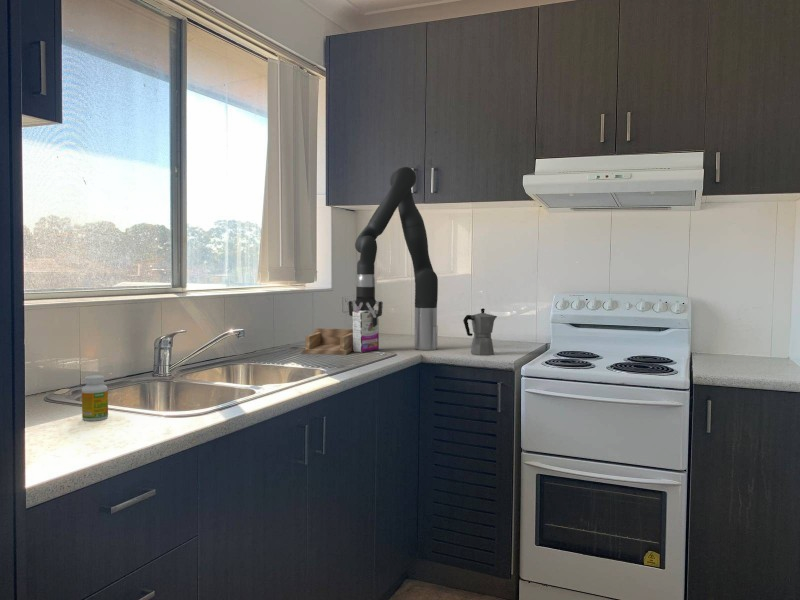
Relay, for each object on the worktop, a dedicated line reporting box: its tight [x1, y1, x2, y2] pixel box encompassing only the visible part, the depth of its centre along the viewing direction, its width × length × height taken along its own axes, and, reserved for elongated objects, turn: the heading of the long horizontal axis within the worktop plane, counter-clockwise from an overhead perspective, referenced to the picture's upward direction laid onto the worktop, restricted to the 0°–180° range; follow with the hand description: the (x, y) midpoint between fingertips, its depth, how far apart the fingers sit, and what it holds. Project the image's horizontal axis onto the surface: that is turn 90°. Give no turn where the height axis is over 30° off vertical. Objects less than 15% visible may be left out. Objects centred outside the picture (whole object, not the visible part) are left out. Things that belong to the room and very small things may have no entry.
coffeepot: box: [462, 307, 498, 356], centre depth 263 cm, size 15×9×18 cm, turn 117°
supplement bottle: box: [81, 374, 109, 422], centre depth 153 cm, size 5×5×10 cm
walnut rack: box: [301, 327, 353, 356], centre depth 270 cm, size 18×19×8 cm
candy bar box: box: [352, 309, 380, 353], centre depth 271 cm, size 11×5×16 cm, turn 143°
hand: (365, 326), depth 271 cm, fingers closed on candy bar box, 6 cm apart
